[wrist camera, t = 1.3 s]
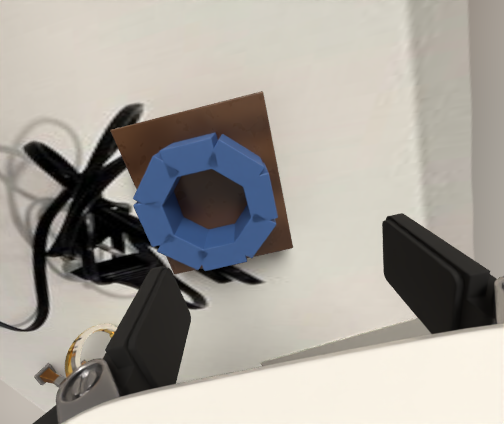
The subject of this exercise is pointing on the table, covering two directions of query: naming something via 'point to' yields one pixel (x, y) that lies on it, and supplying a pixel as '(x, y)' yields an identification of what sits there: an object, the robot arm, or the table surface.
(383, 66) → the table surface
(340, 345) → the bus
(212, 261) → the ring
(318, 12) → the table surface
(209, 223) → the platform
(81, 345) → the ring
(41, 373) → the wooden post with brackets
